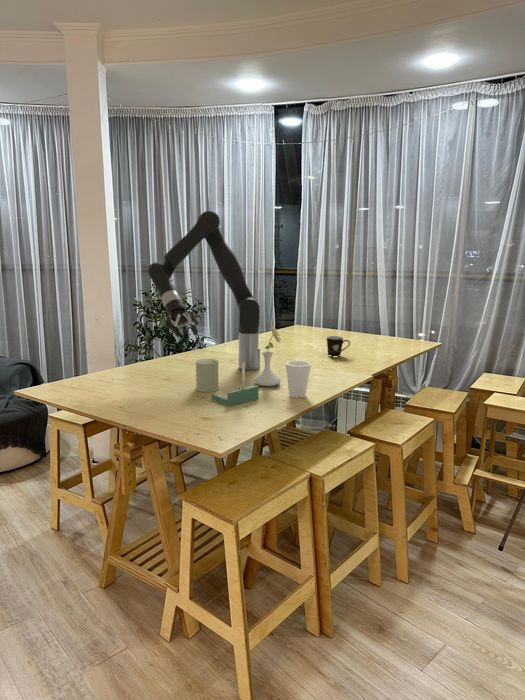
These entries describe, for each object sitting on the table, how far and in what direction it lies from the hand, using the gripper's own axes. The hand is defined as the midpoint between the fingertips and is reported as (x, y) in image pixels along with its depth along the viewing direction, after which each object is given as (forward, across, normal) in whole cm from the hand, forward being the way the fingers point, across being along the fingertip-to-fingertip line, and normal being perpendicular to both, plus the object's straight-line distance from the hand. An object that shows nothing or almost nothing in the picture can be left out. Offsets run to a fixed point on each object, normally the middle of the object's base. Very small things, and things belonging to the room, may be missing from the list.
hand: (187, 335), depth 206 cm
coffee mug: (+20, +88, +3) cm, 90 cm away
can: (+23, +1, +5) cm, 24 cm away
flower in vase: (+30, +24, -4) cm, 39 cm away
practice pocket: (+35, +1, -8) cm, 36 cm away
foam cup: (+43, +22, -18) cm, 52 cm away
